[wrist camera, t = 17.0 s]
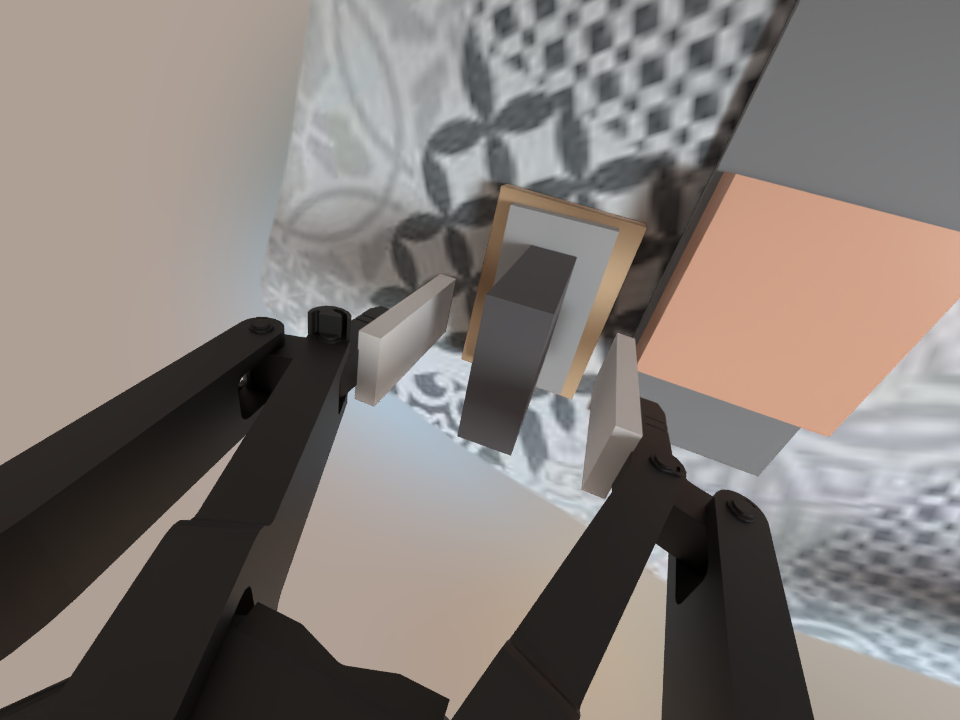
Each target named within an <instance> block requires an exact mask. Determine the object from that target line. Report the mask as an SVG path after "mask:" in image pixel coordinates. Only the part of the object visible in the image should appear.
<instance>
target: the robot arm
mask: <svg viewBox="0 0 960 720" xmlns="http://www.w3.org/2000/svg"><path fill="white" fill-rule="evenodd" d="M455 282H456V279H455V278H452V277H449V276H446V275H443V274H440V275H438V276H437V277H435V278H434V279H432V280H431V281H430V282H428V283H427V284H425V285H424V286H422V287H421V288H419V289H418V290H417V291H415V292H414V293H412V294H411V295H409V296H408V297H407V298H405V299H404V300H402V301H401V302H399V303H398V304H397V305H395V306H394V307H392V308H391V309H388V308H386V307H383V306H379V307H375V308H371V309H369V310H367V311H366V312H364V313H363V314H362V315H359V316H358V317H356V319H353V320H352V321H351V314H350V313H349V312H348V311H346V310H344V309H342V308H339V307H335V306H320V307H316V308H313V309H311V310H310V311H308V336H307V337H306V338H305V337H298V336H292V335H286V334H284V324H283V323H282V322H281V321H278V320H276V319H273V318H268V317H256V318H250V319H247V320H244V321H242V322H240V323H239V324H237V325H235V326H234V327H232V328H230V329H229V330H227V331H225V332H224V333H222V334H220V335H218V336H217V337H215V338H213V339H212V340H210V341H209V342H207V343H205V344H204V345H202V346H200V347H198V348H197V349H195V350H193V351H192V352H190V353H188V354H187V355H185V356H183V357H182V358H180V359H179V360H177V361H175V362H173V363H172V364H170V365H168V366H166V367H165V368H163V369H161V370H160V371H158V372H156V373H155V374H153V375H152V376H150V377H148V378H146V379H145V380H143V381H141V382H140V383H138V384H136V385H135V386H133V387H131V388H130V389H128V390H126V391H125V392H123V393H121V394H120V395H118V396H116V397H114V398H113V399H111V400H109V401H108V402H106V403H104V404H103V405H101V406H99V407H98V408H96V409H94V410H93V411H91V412H89V413H88V414H86V415H84V416H83V417H81V418H79V419H78V420H76V421H74V422H73V423H71V424H69V425H67V426H66V427H64V428H62V429H61V430H59V431H58V432H56V433H54V434H53V435H51V436H49V437H47V438H46V439H44V440H42V441H41V442H39V443H38V444H36V445H34V446H32V447H31V448H29V449H28V450H26V451H24V452H22V453H20V454H19V455H17V456H16V457H14V458H12V459H11V460H9V461H7V462H5V463H4V464H2V465H1V466H0V661H1V660H2V659H4V658H5V657H6V656H8V655H9V654H11V653H12V652H13V651H14V650H16V649H17V648H18V647H20V646H21V645H22V644H23V643H25V642H26V641H27V640H28V639H30V638H31V637H32V636H33V635H34V634H36V633H37V632H38V631H40V630H41V629H42V628H43V627H45V626H46V625H47V624H48V623H49V622H50V621H51V620H53V619H54V618H55V617H56V616H57V615H58V614H59V613H60V612H61V611H63V610H64V609H65V608H66V607H67V606H68V605H69V604H70V603H71V602H73V601H74V600H75V599H76V598H77V597H78V596H79V595H80V594H81V593H82V592H83V591H84V590H85V589H86V588H87V587H88V586H90V585H91V583H92V582H94V581H95V580H96V579H97V577H99V576H100V575H101V574H102V573H103V572H104V571H105V570H106V569H107V568H108V567H109V566H110V565H111V564H112V563H113V562H114V561H115V560H116V559H117V558H118V557H120V555H122V554H123V553H124V552H125V551H126V550H127V549H128V548H129V547H130V546H131V545H132V544H133V543H134V542H135V541H136V540H137V539H138V538H139V537H140V536H141V535H142V534H143V533H144V532H145V531H147V529H148V528H150V527H151V526H152V525H153V524H154V523H155V522H156V521H157V520H158V519H159V518H160V517H161V516H162V515H163V514H164V513H165V512H166V511H167V510H168V509H169V508H170V507H171V506H172V505H173V504H174V503H175V502H176V501H178V500H179V499H180V498H181V497H182V496H183V495H184V494H185V493H186V492H187V491H188V490H189V489H190V488H191V487H192V486H193V485H194V484H195V483H196V482H197V481H198V480H199V479H200V478H201V477H202V476H204V474H206V473H207V472H208V471H209V470H210V469H211V468H212V467H213V466H214V465H215V464H216V463H217V462H218V461H219V460H220V459H221V458H222V457H223V456H224V455H225V454H226V453H227V452H228V451H229V450H230V449H231V448H232V447H234V446H235V445H236V444H237V443H238V442H239V441H240V440H241V439H242V438H243V437H244V436H245V435H246V436H245V437H244V439H243V440H242V442H241V444H240V445H239V447H238V449H237V450H236V452H235V453H234V455H233V457H232V459H231V460H230V462H229V463H228V465H227V466H226V468H225V470H224V471H223V473H222V474H221V476H220V478H219V479H218V481H217V482H216V484H215V486H214V487H213V489H212V491H211V492H210V494H209V495H208V497H207V499H206V500H205V502H204V503H203V505H202V507H201V508H200V510H199V512H198V513H197V514H196V515H195V517H194V518H192V519H191V520H180V521H178V522H177V523H176V524H174V525H173V526H172V527H171V528H170V529H169V531H168V532H167V533H166V534H165V536H164V537H163V539H162V540H161V541H160V543H159V544H158V546H157V548H156V549H155V551H154V552H153V553H152V555H151V557H150V558H149V560H148V561H147V563H146V564H145V566H144V567H143V569H142V570H141V572H140V573H139V575H138V576H137V578H136V579H135V581H134V582H133V584H132V585H131V587H130V588H129V590H128V591H127V593H126V594H125V596H124V597H123V599H122V600H121V602H120V603H119V605H118V606H117V608H116V609H115V611H114V612H113V614H112V615H111V617H110V618H109V620H108V621H107V623H106V624H105V626H104V627H103V629H102V630H101V632H100V633H99V635H98V636H97V638H96V639H95V641H94V642H93V644H92V645H91V647H90V649H89V650H88V651H87V653H86V654H85V656H84V657H83V659H82V660H81V662H80V663H79V665H78V666H77V668H76V670H75V671H74V672H73V674H72V676H71V677H69V678H67V679H65V680H63V681H60V682H58V683H56V684H54V685H52V686H49V687H47V688H45V689H43V690H41V691H39V692H36V693H34V694H32V695H30V696H28V697H25V698H23V699H21V700H19V701H17V702H15V703H12V704H10V705H8V706H6V707H4V708H2V709H0V720H449V719H448V718H447V717H446V716H445V713H446V710H447V706H448V703H449V699H448V698H446V697H444V696H442V695H440V694H438V693H436V692H434V691H432V690H430V689H428V688H426V687H424V686H422V685H420V684H418V683H416V682H414V681H412V680H410V679H409V678H407V677H404V676H402V675H401V674H396V673H390V672H383V671H377V670H370V669H363V668H357V667H351V666H345V665H342V664H340V663H339V662H338V661H336V659H335V658H334V657H333V656H332V655H331V654H330V653H329V652H328V651H327V650H326V649H325V648H324V647H323V646H322V645H321V644H320V643H319V642H318V641H317V640H316V639H315V638H314V636H313V635H312V634H311V633H310V632H309V631H308V630H307V629H306V628H305V627H304V626H303V625H302V624H301V623H299V622H297V621H295V620H293V619H291V618H289V617H287V616H285V615H283V614H281V613H279V612H277V608H278V602H279V598H280V595H281V591H282V588H283V585H284V583H285V580H286V577H287V574H288V571H289V568H290V565H291V562H292V560H293V557H294V554H295V551H296V548H297V545H298V542H299V539H300V536H301V534H302V531H303V528H304V525H305V522H306V519H307V517H308V513H309V511H310V508H311V505H312V502H313V499H314V496H315V493H316V491H317V488H318V485H319V482H320V479H321V476H322V473H323V470H324V467H325V464H326V462H327V459H328V456H329V453H330V450H331V448H332V445H333V442H334V439H335V436H336V433H337V430H338V427H339V424H340V422H341V419H342V416H343V413H344V410H345V407H346V404H347V394H348V392H349V391H350V390H351V389H352V388H353V387H355V399H356V400H359V401H361V402H364V403H366V404H369V405H372V406H375V405H376V404H377V403H378V402H379V401H380V400H381V399H382V398H383V397H384V396H385V395H386V394H387V393H388V392H389V390H390V389H391V388H392V387H393V386H394V385H395V384H396V383H397V382H398V381H399V380H400V379H401V378H402V377H403V376H404V375H405V374H406V373H407V372H408V371H409V370H410V368H411V367H412V366H413V365H414V364H415V363H416V362H417V361H418V360H419V359H420V358H421V357H422V356H423V355H424V354H425V353H426V352H427V351H428V350H429V349H430V348H431V346H432V345H433V344H434V343H435V342H436V341H437V340H438V339H439V338H440V337H441V336H442V335H443V334H444V333H445V332H446V327H447V322H448V317H449V312H450V307H451V302H452V297H453V292H454V287H455ZM242 377H243V380H242V381H241V382H240V380H241V378H242ZM666 424H667V422H666V416H665V413H664V411H663V410H662V408H661V407H660V406H659V404H658V403H656V402H653V401H650V400H647V399H644V398H642V397H640V395H639V382H638V369H637V357H636V344H635V338H632V337H629V336H626V335H623V334H620V333H617V334H616V336H615V339H614V341H613V343H612V345H611V347H610V349H609V352H608V354H607V356H606V358H605V360H604V362H603V365H602V367H601V369H600V371H599V373H598V375H597V378H596V380H595V382H594V384H593V392H592V401H591V410H590V418H589V427H588V436H587V445H586V454H585V462H584V471H583V480H582V489H581V490H584V491H586V492H589V493H591V494H594V495H596V496H599V497H601V498H604V499H605V498H606V496H607V495H608V493H609V491H610V490H611V488H612V493H611V494H610V496H609V497H608V499H607V500H606V501H605V503H604V504H603V506H602V507H601V509H600V510H599V511H598V513H597V514H596V516H595V517H594V519H593V520H592V522H591V523H590V524H589V526H588V527H587V529H586V530H585V532H584V533H583V535H582V536H581V537H580V539H579V540H578V542H577V543H576V545H575V546H574V548H573V549H572V550H571V552H570V553H569V555H568V556H567V558H566V559H565V560H564V562H563V563H562V565H561V566H560V568H559V569H558V571H557V572H556V573H555V575H554V577H553V578H552V579H551V581H550V582H549V583H548V585H547V586H546V588H545V589H544V591H543V592H542V594H541V595H540V596H539V598H538V599H537V601H536V602H535V604H534V605H533V606H532V608H531V610H530V611H529V612H528V614H527V615H526V617H525V618H524V619H523V621H522V622H521V624H520V625H519V627H518V628H517V630H516V631H515V632H514V634H513V635H512V637H511V638H510V639H509V640H508V641H507V642H506V643H505V644H504V646H503V647H502V648H501V650H500V651H499V652H498V654H497V655H496V657H495V658H494V660H493V661H492V662H491V664H490V665H489V667H488V668H487V670H486V671H485V672H484V674H483V675H482V677H481V678H480V680H479V681H478V682H477V684H476V685H475V687H474V688H473V689H472V691H471V692H470V694H469V695H468V697H467V698H466V699H465V701H464V702H463V704H462V705H461V707H460V708H459V710H458V711H457V712H456V714H455V715H454V717H453V718H452V720H579V719H580V706H581V703H582V701H583V699H584V696H585V694H586V692H587V690H588V688H589V685H590V683H591V681H592V679H593V677H594V675H595V673H596V670H597V668H598V666H599V664H600V662H601V660H602V657H603V655H604V653H605V651H606V649H607V647H608V645H609V642H610V640H611V638H612V636H613V634H614V632H615V630H616V627H617V625H618V623H619V621H620V619H621V617H622V615H623V612H624V610H625V608H626V606H627V604H628V602H629V599H630V597H631V595H632V593H633V591H634V589H635V586H636V584H637V582H638V580H639V578H640V576H641V574H642V571H643V569H644V567H645V565H646V563H647V561H648V559H649V556H650V554H651V552H652V550H653V548H654V546H655V543H656V544H657V545H658V546H660V547H661V548H663V549H664V550H666V551H667V552H668V553H669V554H668V577H667V603H666V627H665V650H664V674H663V698H662V720H814V717H813V713H812V708H811V704H810V699H809V695H808V691H807V686H806V682H805V678H804V674H803V669H802V665H801V661H800V657H799V652H798V648H797V644H796V639H795V635H794V631H793V627H792V622H791V618H790V614H789V610H788V605H787V601H786V597H785V592H784V588H783V584H782V580H781V575H780V571H779V567H778V563H777V558H776V554H775V550H774V545H773V541H772V537H771V533H770V528H769V524H768V521H767V519H766V517H765V515H764V514H763V513H762V511H761V510H760V509H759V508H758V506H756V505H755V504H754V503H753V502H751V500H749V499H748V498H746V497H744V496H742V495H741V494H739V493H737V492H734V491H731V490H720V491H718V492H716V493H715V495H714V496H711V495H709V494H708V493H706V492H704V491H703V490H701V489H700V488H698V487H696V486H695V485H693V484H692V483H690V482H689V481H688V480H687V479H686V471H685V468H684V466H683V465H682V464H681V462H680V461H679V460H678V459H677V458H676V457H674V456H673V455H672V451H671V445H670V439H669V433H668V427H667V425H666Z"/></svg>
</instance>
